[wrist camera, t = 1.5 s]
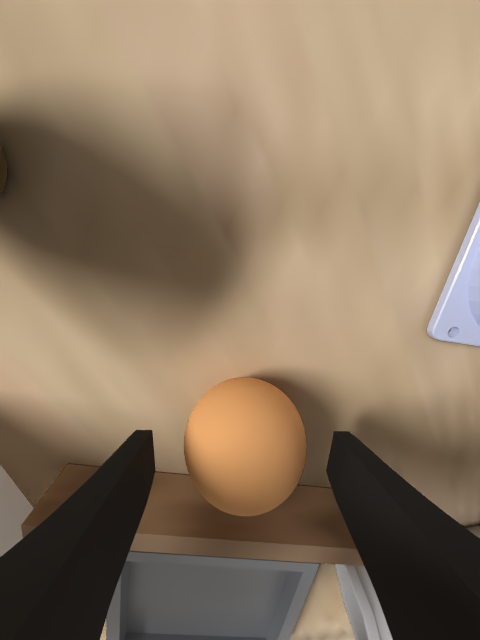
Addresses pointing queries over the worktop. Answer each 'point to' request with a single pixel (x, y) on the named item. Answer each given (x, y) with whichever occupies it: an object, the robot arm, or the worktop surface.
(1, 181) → the cup
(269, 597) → the tray
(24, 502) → the milk
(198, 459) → the egg
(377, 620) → the tube
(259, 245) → the worktop surface
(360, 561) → the fence
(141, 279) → the worktop surface
